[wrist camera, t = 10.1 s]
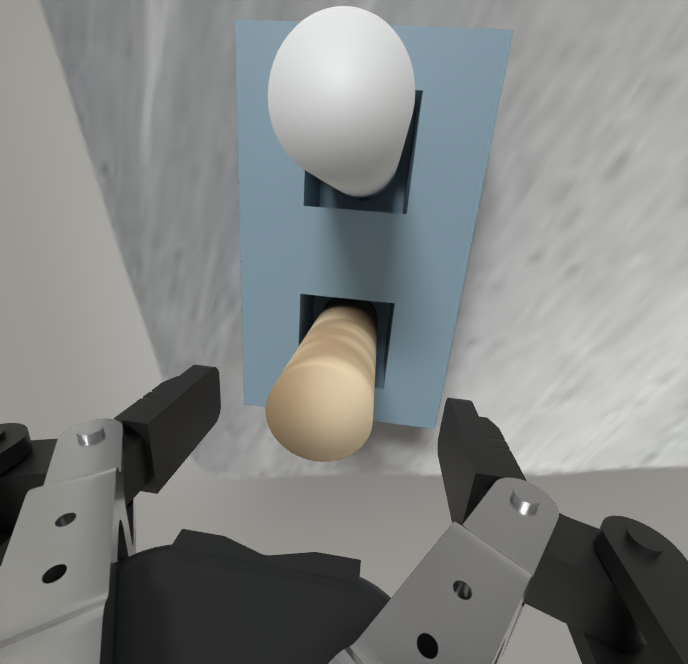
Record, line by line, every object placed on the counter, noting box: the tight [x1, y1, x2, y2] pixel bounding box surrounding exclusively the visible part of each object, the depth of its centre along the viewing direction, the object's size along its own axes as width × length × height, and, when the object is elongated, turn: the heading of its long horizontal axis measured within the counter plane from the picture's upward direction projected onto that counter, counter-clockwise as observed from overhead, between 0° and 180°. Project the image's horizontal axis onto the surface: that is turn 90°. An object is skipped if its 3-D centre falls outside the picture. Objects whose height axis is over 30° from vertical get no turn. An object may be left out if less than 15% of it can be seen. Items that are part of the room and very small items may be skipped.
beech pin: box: [266, 297, 378, 462], centre depth 16 cm, size 4×4×11 cm
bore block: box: [235, 6, 513, 429], centre depth 15 cm, size 11×18×12 cm, turn 175°
